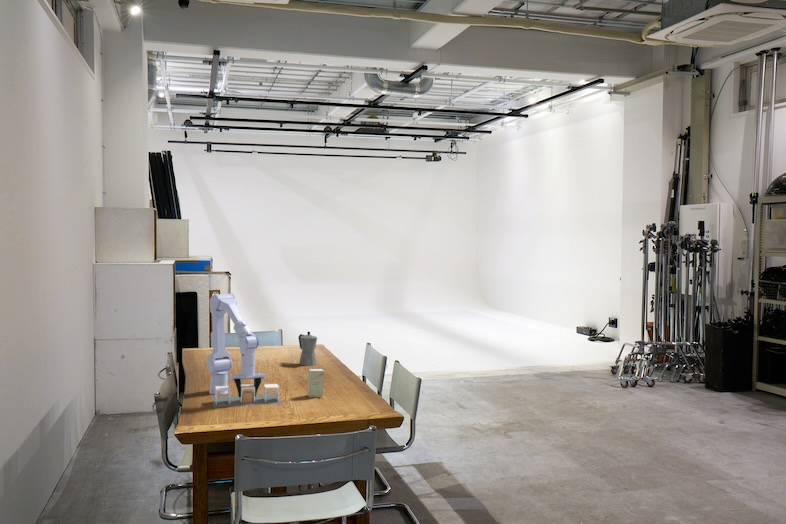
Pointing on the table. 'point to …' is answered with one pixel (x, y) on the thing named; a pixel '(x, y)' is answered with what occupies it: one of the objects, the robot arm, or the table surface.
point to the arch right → (271, 386)
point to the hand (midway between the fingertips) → (247, 396)
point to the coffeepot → (307, 349)
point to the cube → (247, 396)
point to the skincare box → (315, 382)
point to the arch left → (222, 388)
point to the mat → (236, 402)
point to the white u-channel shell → (248, 386)
